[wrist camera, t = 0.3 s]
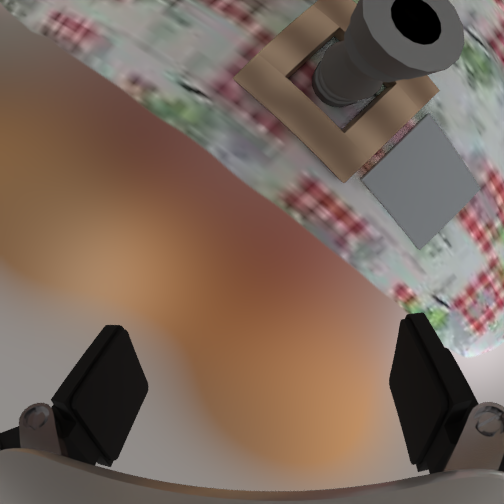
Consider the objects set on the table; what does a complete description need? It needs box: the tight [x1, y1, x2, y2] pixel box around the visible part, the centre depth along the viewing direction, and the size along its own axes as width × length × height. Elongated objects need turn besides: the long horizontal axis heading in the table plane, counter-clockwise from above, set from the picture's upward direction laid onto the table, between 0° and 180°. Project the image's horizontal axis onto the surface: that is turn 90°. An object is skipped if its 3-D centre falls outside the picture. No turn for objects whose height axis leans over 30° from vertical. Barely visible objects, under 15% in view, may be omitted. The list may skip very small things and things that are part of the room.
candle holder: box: [312, 0, 464, 107], centre depth 22 cm, size 6×6×25 cm
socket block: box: [233, 0, 440, 183], centre depth 32 cm, size 17×17×4 cm
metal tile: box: [360, 114, 480, 250], centre depth 37 cm, size 13×13×1 cm
